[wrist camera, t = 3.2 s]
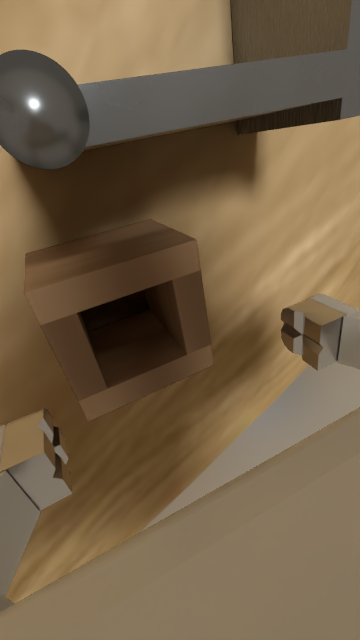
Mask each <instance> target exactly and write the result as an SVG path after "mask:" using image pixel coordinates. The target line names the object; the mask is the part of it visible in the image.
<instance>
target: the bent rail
mask: <svg viewBox="0 0 360 640" xmlns="http://www.w3.org/2000/svg"><path fill="white" fill-rule="evenodd" d="M231 13H232V32H233V50H234V64H230V65H223V66H215V67H208V68H200V69H192V70H185V71H177V72H170V73H162V74H154V75H147V76H139V77H132V78H124V79H116V80H109V81H101V82H94V83H86V84H79V85H77V84H76V82H75V81H74V79H73V78H72V77H71V76H70V74H69V73H68V72H67V71H66V70H65V69H64V68H63V67H62V66H60V65H59V64H58V63H57V62H55V61H54V60H52V59H50V58H49V57H47V56H45V55H43V54H40V53H37V52H34V51H29V50H13V51H8V52H6V53H3V54H1V55H0V145H1V146H2V147H3V148H4V149H5V150H6V151H7V152H8V153H9V154H10V155H12V156H13V157H15V158H16V159H17V160H19V161H21V162H23V163H25V164H27V165H29V166H32V167H35V168H40V169H58V168H61V167H64V166H67V165H69V164H70V163H72V162H73V161H74V160H76V159H77V158H78V157H79V155H80V154H81V153H82V151H83V150H88V149H94V148H99V147H104V146H109V145H114V144H119V143H124V142H130V141H135V140H140V139H145V138H150V137H155V136H160V135H166V134H171V133H176V132H181V131H186V130H191V129H196V128H202V127H207V126H212V125H217V124H222V123H227V122H232V121H237V123H238V135H240V134H247V133H254V132H260V131H267V130H274V129H281V128H287V127H294V126H301V125H307V124H314V123H321V122H328V121H334V120H341V119H345V118H350V117H355V116H359V115H360V0H231Z"/></svg>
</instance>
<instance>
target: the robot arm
mask: <svg viewBox="0 0 360 640" xmlns="http://www.w3.org/2000/svg"><path fill="white" fill-rule="evenodd" d="M281 320H282V321H283V322H284V325H283V327H282V329H281V338H282V341H283V343H284V345H285V346H286V347H287V349H288V350H290V351H291V352H292V353H294V354H299V355H302V359H303V361H305V362H306V363H307V364H309V365H310V366H312V367H313V368H314V369H316V370H317V371H318V370H320V369H322V368H324V367H326V366H328V365H331V364H333V363H335V362H337V361H338V363H341V364H344V365H347V366H351V367H354V368H357V369H360V309H359V310H358V309H356V308H354V307H352V306H349V305H347V304H345V303H342V302H340V301H338V300H335V299H333V298H331V297H329V296H326V295H324V294H316V295H313V296H311V297H309V298H307V299H306V300H303V301H301V302H298V303H296V304H294V305H291V306H289V307H287V308H284V309H283V310H282V313H281ZM68 459H69V457H68V450H67V446H66V443H65V440H64V437H63V435H62V433H61V431H60V429H59V428H58V427H54V426H53V419H52V416H51V415H50V413H49V412H48V410H47V409H45V408H44V409H42V410H39V411H37V412H34V413H32V414H29V415H27V416H24V417H21V418H19V419H16V420H14V421H11V422H9V423H7V424H4V425H2V426H0V640H360V407H359V408H358V409H356V410H354V411H352V412H351V413H349V414H347V415H345V416H344V417H342V418H340V419H338V420H337V421H335V422H333V423H331V424H330V425H328V426H326V427H324V428H323V429H321V430H319V431H317V432H316V433H314V434H312V435H310V436H309V437H307V438H305V439H303V440H302V441H300V442H298V443H297V444H295V445H293V446H291V447H289V448H288V449H286V450H284V451H282V452H281V453H279V454H277V455H275V456H274V457H272V458H270V459H268V460H267V461H265V462H263V463H261V464H260V465H258V466H256V467H254V468H253V469H251V470H249V471H247V472H246V473H244V474H242V475H240V476H238V477H237V478H235V479H233V480H231V481H230V482H228V483H226V484H224V485H223V486H221V487H219V488H217V489H216V490H214V491H212V492H210V493H209V494H207V495H205V496H203V497H202V498H200V499H198V500H197V501H195V502H193V503H191V504H189V505H188V506H186V507H184V508H182V509H181V510H179V511H177V512H175V513H174V514H172V515H170V516H168V517H167V518H165V519H163V520H161V521H160V522H158V523H156V524H154V525H152V526H151V527H149V528H148V529H145V530H144V531H142V532H140V533H138V534H137V535H135V536H133V537H131V538H130V539H128V540H126V541H124V542H123V543H121V544H119V545H117V546H116V547H114V548H112V549H110V550H109V551H107V552H105V553H103V554H102V555H100V556H98V557H96V558H95V559H93V560H91V561H89V562H87V563H86V564H84V565H82V566H80V567H79V568H77V569H75V570H73V571H72V572H70V573H68V574H66V575H65V576H63V577H61V578H59V579H58V580H56V581H54V582H52V583H51V584H49V585H47V586H45V587H44V588H42V589H40V590H38V591H37V592H35V593H33V594H31V595H30V596H28V597H26V598H24V599H23V600H21V601H19V602H17V603H16V604H14V603H13V602H11V601H10V600H9V599H7V598H6V597H5V596H6V593H7V591H8V589H9V586H10V584H11V582H12V579H13V577H14V575H15V572H16V570H17V568H18V565H19V563H20V560H21V558H22V556H23V553H24V551H25V549H26V546H27V544H28V542H29V539H30V537H31V534H32V532H33V530H34V527H35V525H36V523H37V520H38V518H39V516H40V513H41V512H40V511H41V510H43V509H45V508H46V507H48V506H50V505H52V504H54V503H56V502H58V501H60V500H61V499H63V498H65V497H67V496H69V495H71V494H72V485H71V475H70V471H69V470H68V468H67V466H66V463H67V461H68Z"/></svg>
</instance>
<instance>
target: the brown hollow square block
mask: <svg viewBox="0 0 360 640" xmlns="http://www.w3.org/2000/svg"><path fill="white" fill-rule="evenodd" d="M141 290H145V294H146V298H147V302H148V306H149V309H150V310H147V311H144V312H142V313H139V314H136V315H134V316H131V317H128V318H125V319H123V320H120V321H117V322H114V323H112V324H109V325H106V326H104V327H101V328H98V329H95V330H93V331H90V332H88V331H87V329H86V326H85V324H84V321H83V319H82V317H81V314H80V312H81V311H84V310H86V309H89V308H92V307H95V306H98V305H101V304H104V303H107V302H110V301H112V300H115V299H118V298H121V297H124V296H127V295H130V294H133V293H136V292H139V291H141ZM24 294H25V296H26V298H27V300H28V302H29V304H30V306H31V308H32V310H33V312H34V314H35V316H36V318H37V320H38V322H39V324H40V326H41V328H42V330H43V332H44V334H45V336H46V338H47V340H48V342H49V344H50V346H51V348H52V350H53V352H54V354H55V356H56V358H57V360H58V362H59V364H60V366H61V368H62V370H63V372H64V374H65V376H66V378H67V380H68V382H69V384H70V386H71V388H72V390H73V392H74V394H75V396H76V398H77V400H78V402H79V404H80V406H81V408H82V410H83V412H84V414H85V416H86V418H87V420H88V422H89V421H91V420H93V419H95V418H97V417H100V416H102V415H104V414H106V413H108V412H111V411H113V410H115V409H117V408H120V407H122V406H124V405H126V404H128V403H131V402H133V401H135V400H137V399H139V398H142V397H144V396H146V395H148V394H150V393H153V392H155V391H157V390H159V389H162V388H164V387H166V386H168V385H170V384H173V383H175V382H177V381H179V380H181V379H184V378H186V377H188V376H190V375H192V374H195V373H197V372H199V371H201V370H204V369H206V368H208V367H210V366H212V365H214V362H213V355H212V348H211V341H210V333H209V326H208V319H207V312H206V305H205V298H204V291H203V284H202V276H201V269H200V262H199V255H198V248H197V241H196V239H194V238H192V237H190V236H187V235H185V234H183V233H181V232H178V231H176V230H174V229H172V228H169V227H167V226H165V225H162V224H160V223H158V222H156V221H153V220H151V219H150V220H146V221H142V222H139V223H135V224H132V225H128V226H124V227H121V228H117V229H114V230H110V231H106V232H103V233H99V234H96V235H92V236H88V237H85V238H81V239H77V240H74V241H70V242H67V243H63V244H59V245H56V246H52V247H49V248H45V249H41V250H38V251H34V252H31V253H27V254H26V258H25V282H24Z"/></svg>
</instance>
